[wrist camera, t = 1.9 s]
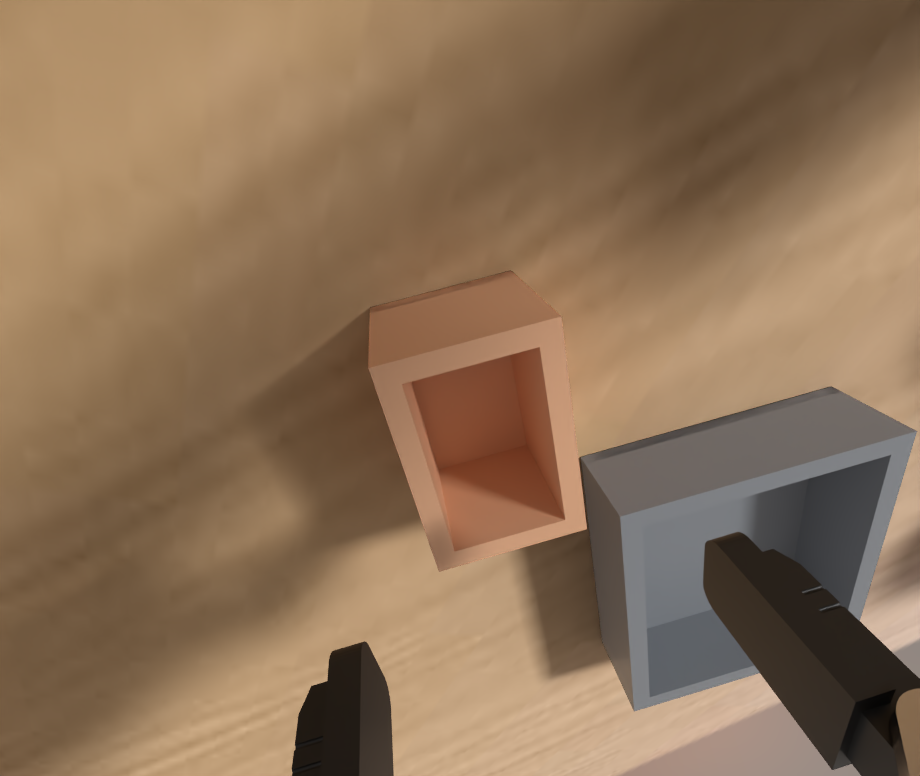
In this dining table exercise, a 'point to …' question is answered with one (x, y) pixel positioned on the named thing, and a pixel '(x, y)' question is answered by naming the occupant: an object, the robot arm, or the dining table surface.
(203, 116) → the dining table surface
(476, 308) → the terracotta crate
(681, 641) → the grey crate
